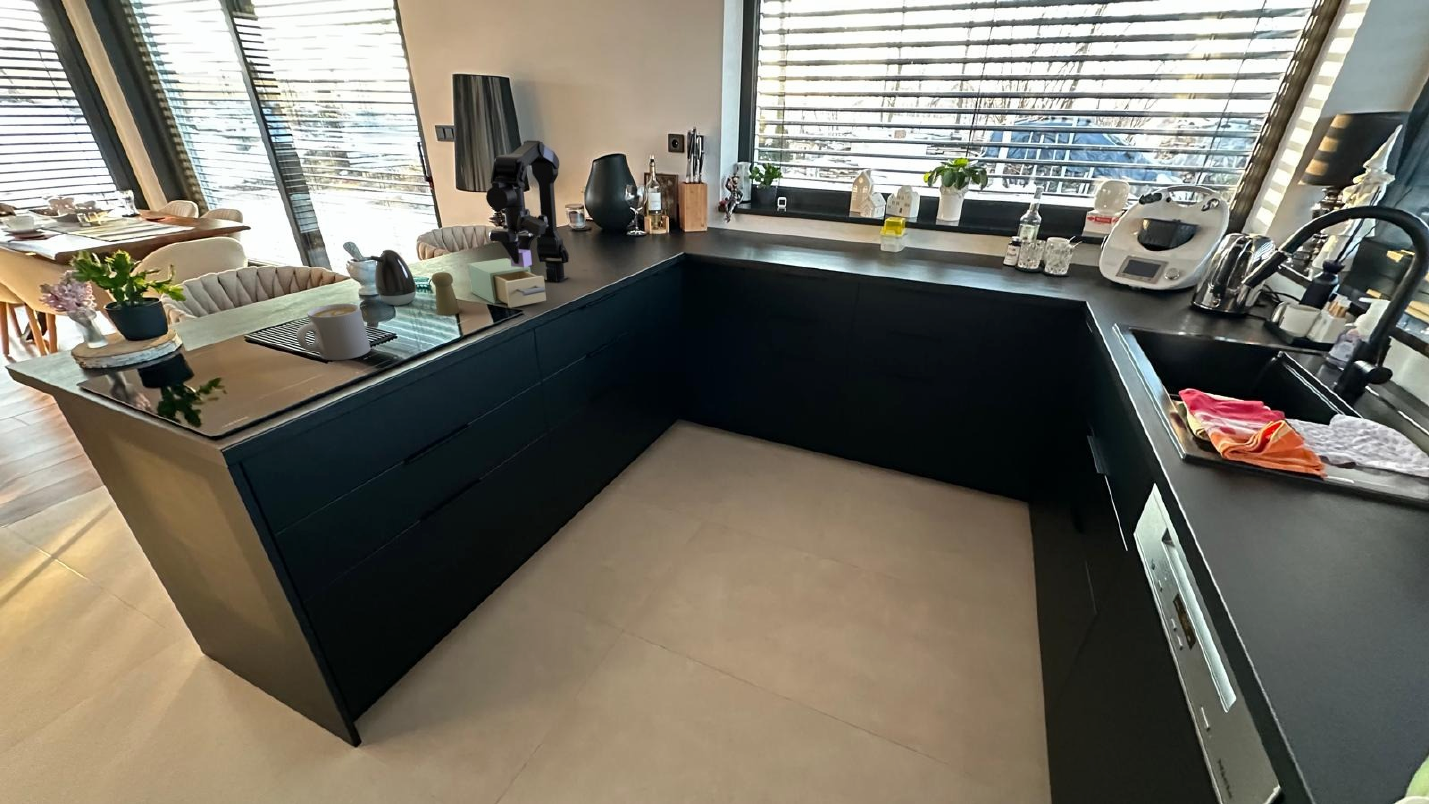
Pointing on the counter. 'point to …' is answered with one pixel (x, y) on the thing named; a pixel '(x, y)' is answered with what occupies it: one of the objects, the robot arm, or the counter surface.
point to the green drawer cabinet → (490, 276)
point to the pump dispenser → (393, 278)
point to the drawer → (519, 288)
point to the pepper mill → (445, 294)
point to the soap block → (523, 259)
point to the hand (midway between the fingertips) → (521, 262)
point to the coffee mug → (335, 332)
